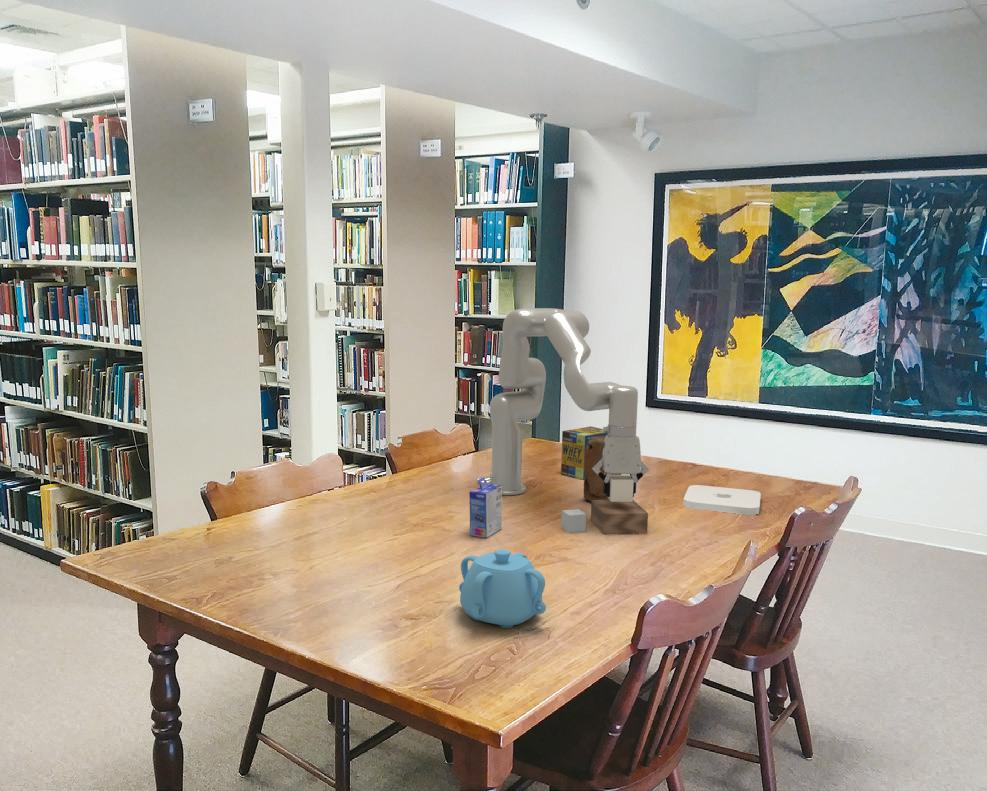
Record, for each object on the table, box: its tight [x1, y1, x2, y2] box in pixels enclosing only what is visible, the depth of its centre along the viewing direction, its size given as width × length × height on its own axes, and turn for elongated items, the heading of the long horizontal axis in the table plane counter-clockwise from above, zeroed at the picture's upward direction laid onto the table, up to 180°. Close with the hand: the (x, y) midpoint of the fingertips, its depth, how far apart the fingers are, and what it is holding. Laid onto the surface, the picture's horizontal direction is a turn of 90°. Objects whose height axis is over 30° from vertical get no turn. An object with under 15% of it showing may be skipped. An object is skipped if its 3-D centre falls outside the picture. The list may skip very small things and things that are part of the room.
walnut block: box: [590, 499, 649, 536], centre depth 226 cm, size 12×14×6 cm
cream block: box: [608, 474, 634, 502], centre depth 225 cm, size 6×6×6 cm
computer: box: [682, 484, 762, 516], centre depth 253 cm, size 22×22×3 cm
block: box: [583, 436, 622, 502], centre depth 250 cm, size 11×8×20 cm
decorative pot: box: [458, 548, 547, 629], centre depth 164 cm, size 16×16×14 cm
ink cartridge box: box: [468, 476, 503, 539], centre depth 218 cm, size 10×6×14 cm, turn 155°
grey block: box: [560, 508, 587, 534], centre depth 223 cm, size 5×5×5 cm
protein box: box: [560, 425, 608, 481], centre depth 286 cm, size 10×15×16 cm
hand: (619, 495), depth 226 cm, fingers closed on cream block, 6 cm apart
